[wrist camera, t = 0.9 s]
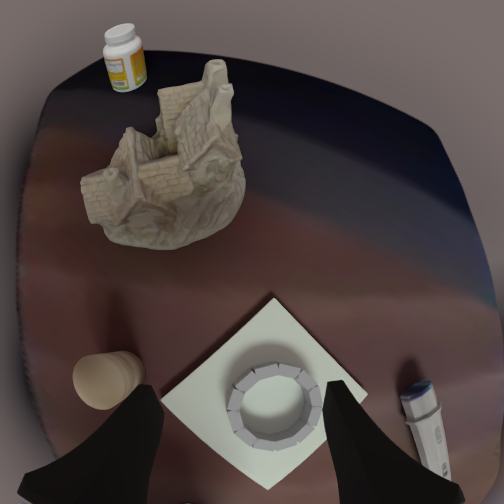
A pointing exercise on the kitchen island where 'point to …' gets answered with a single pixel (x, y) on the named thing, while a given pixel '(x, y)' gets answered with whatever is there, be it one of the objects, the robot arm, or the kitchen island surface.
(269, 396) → the collar plate
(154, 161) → the ceramic cottage
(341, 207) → the kitchen island surface
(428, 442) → the white handheld device
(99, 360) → the maple peg
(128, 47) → the supplement bottle
